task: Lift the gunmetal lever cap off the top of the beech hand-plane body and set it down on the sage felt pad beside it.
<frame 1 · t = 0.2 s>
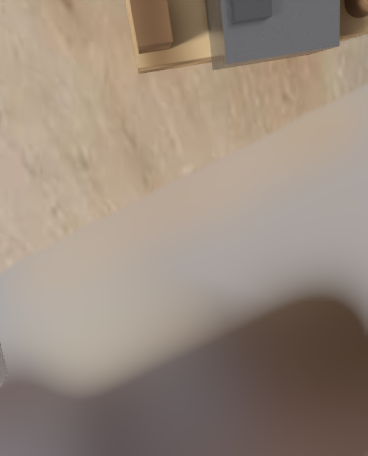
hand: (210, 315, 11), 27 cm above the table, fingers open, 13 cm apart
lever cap: (257, 13, 27), point 6 cm above the table, touching plane body
plane body: (237, 28, 33), on the table
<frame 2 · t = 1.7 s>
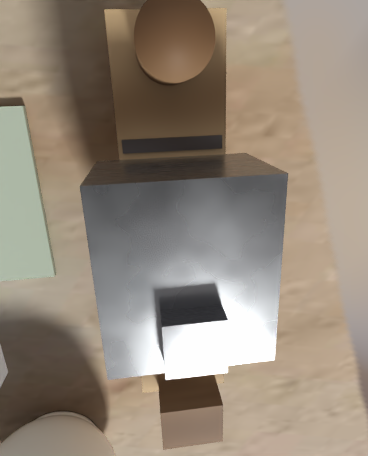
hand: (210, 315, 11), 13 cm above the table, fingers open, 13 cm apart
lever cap: (176, 236, 17), point 6 cm above the table, touching plane body
lidded jar: (62, 436, 29), on the table
plane body: (167, 203, 23), on the table
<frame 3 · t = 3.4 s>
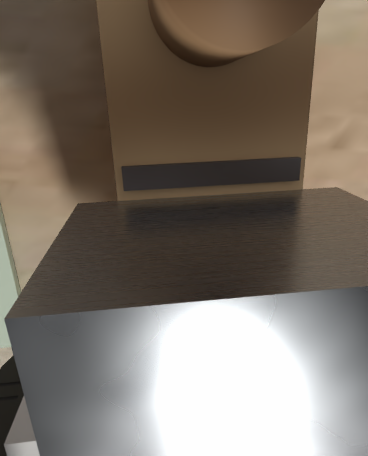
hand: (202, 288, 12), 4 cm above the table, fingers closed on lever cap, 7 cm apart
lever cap: (212, 321, 11), point 6 cm above the table, touching gripper, plane body
plane body: (189, 244, 16), on the table
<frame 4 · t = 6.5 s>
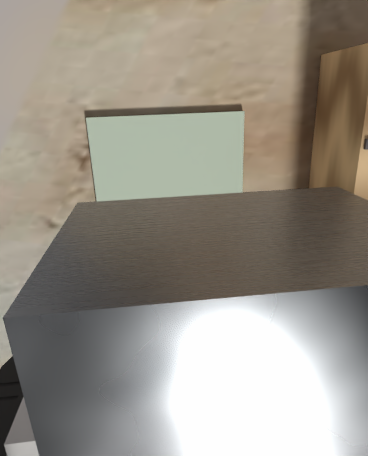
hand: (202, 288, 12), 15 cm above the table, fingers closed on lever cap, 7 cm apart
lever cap: (212, 320, 11), point 17 cm above the table, touching gripper
plane body: (337, 192, 28), on the table
felt pad: (170, 190, 26), on the table
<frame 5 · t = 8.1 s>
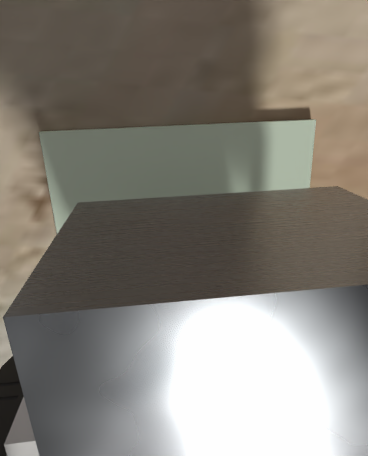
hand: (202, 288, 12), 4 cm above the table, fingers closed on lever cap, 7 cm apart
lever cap: (212, 320, 11), point 6 cm above the table, touching gripper
felt pad: (186, 249, 16), on the table
when the fingers open (1 cm above the table, at t = 9.6 s): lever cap drops 3 cm, resting on felt pad.
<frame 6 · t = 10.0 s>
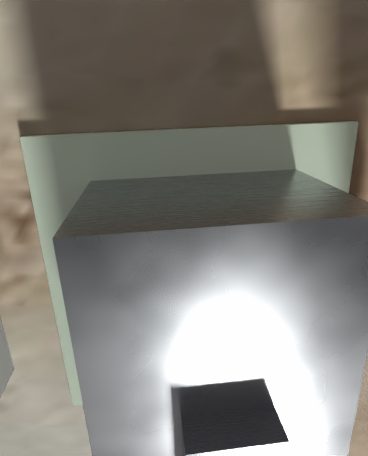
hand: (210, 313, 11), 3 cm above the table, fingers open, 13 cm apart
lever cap: (198, 279, 13), resting on felt pad
felt pad: (198, 274, 13), on the table
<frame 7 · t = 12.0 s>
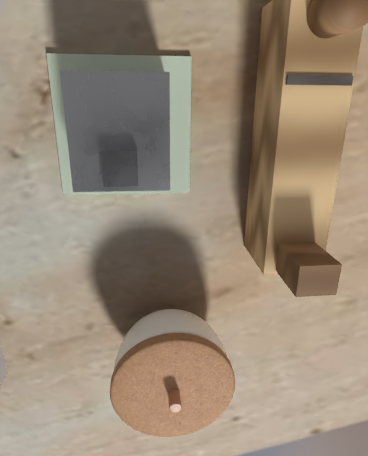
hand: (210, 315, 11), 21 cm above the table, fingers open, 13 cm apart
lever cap: (123, 128, 28), resting on felt pad
lidded jar: (168, 332, 37), on the table
plane body: (279, 140, 30), on the table
felt pad: (124, 128, 29), on the table
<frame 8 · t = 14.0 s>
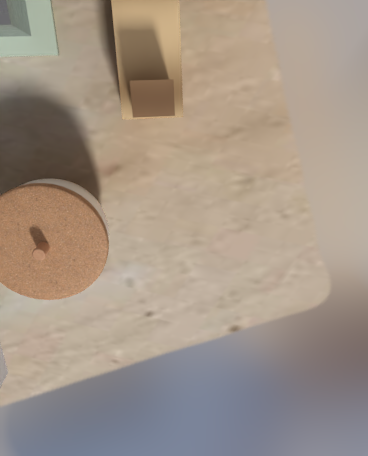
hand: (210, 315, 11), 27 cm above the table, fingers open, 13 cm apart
lidded jar: (64, 217, 37), on the table
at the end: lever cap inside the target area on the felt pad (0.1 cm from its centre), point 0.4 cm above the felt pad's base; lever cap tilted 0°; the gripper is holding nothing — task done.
